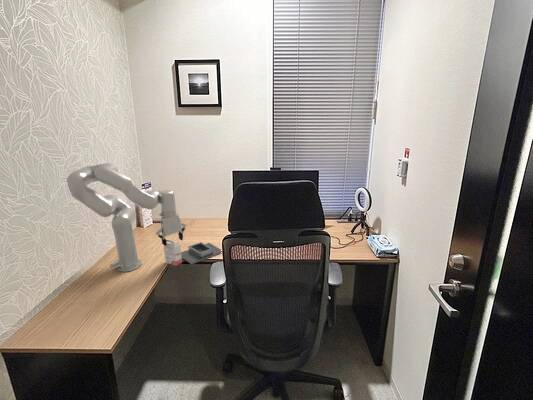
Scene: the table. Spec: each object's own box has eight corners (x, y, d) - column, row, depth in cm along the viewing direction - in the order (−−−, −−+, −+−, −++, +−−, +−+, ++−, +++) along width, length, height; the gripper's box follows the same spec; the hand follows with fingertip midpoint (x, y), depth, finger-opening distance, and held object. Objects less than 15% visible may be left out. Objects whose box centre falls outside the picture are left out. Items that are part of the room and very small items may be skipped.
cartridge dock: (191, 264, 169) (190, 258, 168) (177, 255, 180) (177, 248, 179) (223, 252, 183) (223, 246, 182) (209, 244, 194) (208, 238, 193)
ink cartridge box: (182, 262, 171) (180, 238, 167) (176, 266, 167) (173, 242, 163) (171, 259, 175) (169, 235, 171) (165, 262, 171) (162, 239, 167)
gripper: (156, 219, 154) (161, 249, 159) (187, 210, 165) (190, 239, 171) (150, 215, 160) (155, 245, 165) (180, 208, 171) (183, 235, 176)
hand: (173, 242), depth 168 cm, fingers open, 9 cm apart
